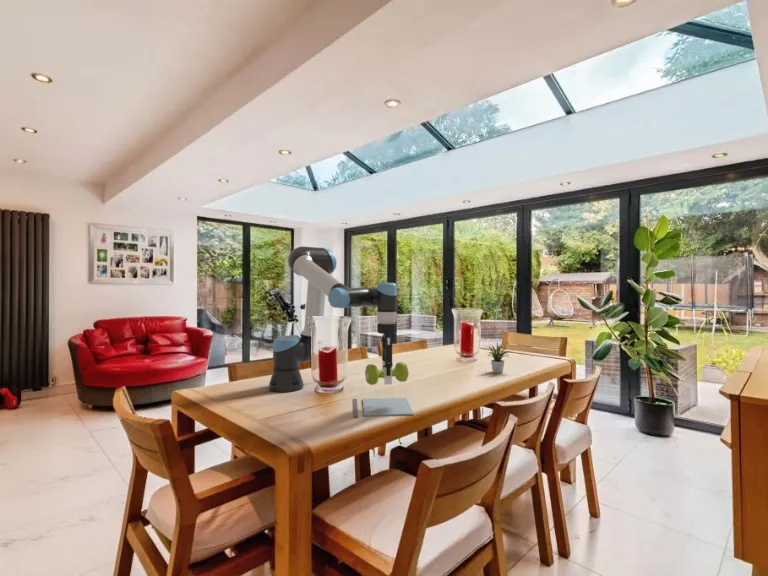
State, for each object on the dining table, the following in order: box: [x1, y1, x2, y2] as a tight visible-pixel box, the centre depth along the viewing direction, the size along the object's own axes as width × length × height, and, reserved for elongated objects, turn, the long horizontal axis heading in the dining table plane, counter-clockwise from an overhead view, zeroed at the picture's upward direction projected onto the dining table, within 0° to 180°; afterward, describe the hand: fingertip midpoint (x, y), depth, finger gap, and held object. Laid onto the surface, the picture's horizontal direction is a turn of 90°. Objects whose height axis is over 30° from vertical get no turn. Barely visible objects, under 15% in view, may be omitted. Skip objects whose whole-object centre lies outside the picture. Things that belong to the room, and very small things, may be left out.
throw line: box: [352, 398, 359, 419], centre depth 152 cm, size 2×22×1 cm, turn 5°
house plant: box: [486, 342, 512, 374], centre depth 214 cm, size 14×14×16 cm
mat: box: [361, 397, 415, 417], centre depth 153 cm, size 18×20×1 cm
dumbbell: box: [364, 361, 410, 385], centre depth 153 cm, size 16×8×7 cm, turn 111°
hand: (386, 380), depth 153 cm, fingers closed on dumbbell, 9 cm apart
